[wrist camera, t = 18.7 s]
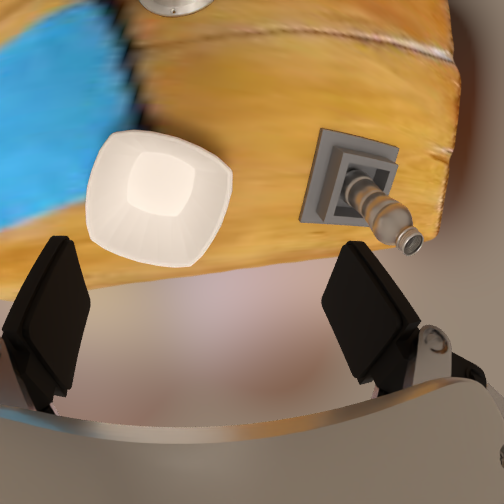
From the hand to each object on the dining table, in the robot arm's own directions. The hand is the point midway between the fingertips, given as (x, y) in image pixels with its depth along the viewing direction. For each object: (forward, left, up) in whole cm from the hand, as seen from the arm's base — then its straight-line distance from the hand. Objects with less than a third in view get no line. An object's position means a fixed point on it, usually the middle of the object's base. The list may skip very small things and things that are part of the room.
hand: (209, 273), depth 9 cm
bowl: (+12, -6, -37) cm, 39 cm away
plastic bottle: (+9, +27, -36) cm, 46 cm away
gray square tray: (+9, +28, -36) cm, 47 cm away
